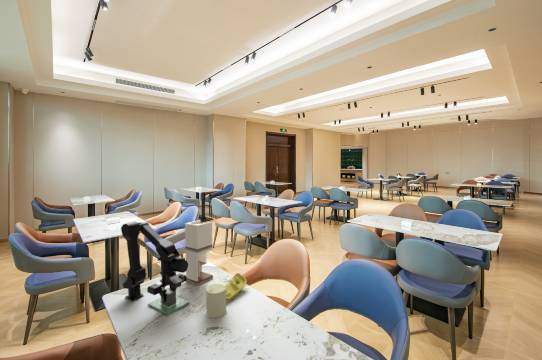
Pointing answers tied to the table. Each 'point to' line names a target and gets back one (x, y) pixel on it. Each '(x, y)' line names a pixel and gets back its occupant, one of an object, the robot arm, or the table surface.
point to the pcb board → (168, 309)
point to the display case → (197, 250)
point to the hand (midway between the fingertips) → (168, 300)
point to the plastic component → (234, 286)
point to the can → (216, 300)
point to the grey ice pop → (169, 297)
